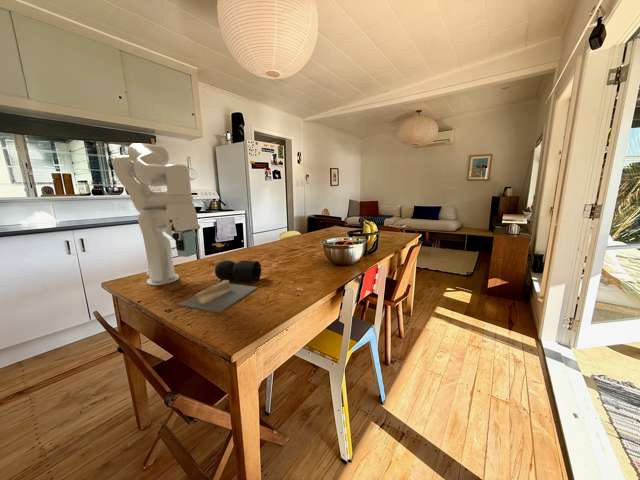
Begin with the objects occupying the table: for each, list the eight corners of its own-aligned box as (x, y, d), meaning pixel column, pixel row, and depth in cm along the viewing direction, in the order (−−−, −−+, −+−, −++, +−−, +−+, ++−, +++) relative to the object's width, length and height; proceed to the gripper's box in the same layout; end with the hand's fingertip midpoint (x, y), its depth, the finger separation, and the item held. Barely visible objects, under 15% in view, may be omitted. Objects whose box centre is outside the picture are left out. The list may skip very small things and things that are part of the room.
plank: (197, 304, 89) (196, 293, 88) (225, 289, 102) (224, 280, 101) (203, 305, 88) (201, 294, 87) (230, 290, 101) (229, 280, 100)
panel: (178, 305, 90) (178, 304, 90) (222, 283, 110) (222, 282, 110) (219, 313, 83) (219, 311, 83) (257, 288, 104) (257, 287, 103)
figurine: (264, 263, 117) (224, 262, 121) (255, 259, 108) (213, 257, 112) (261, 283, 114) (221, 281, 118) (252, 281, 106) (209, 278, 109)
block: (177, 255, 95) (174, 232, 93) (187, 252, 99) (185, 230, 97) (186, 256, 93) (184, 233, 91) (196, 253, 97) (194, 230, 95)
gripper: (191, 198, 101) (196, 243, 104) (150, 201, 85) (158, 253, 89) (206, 198, 98) (210, 244, 102) (167, 201, 83) (174, 255, 86)
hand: (186, 248), depth 95 cm, fingers closed on block, 4 cm apart
